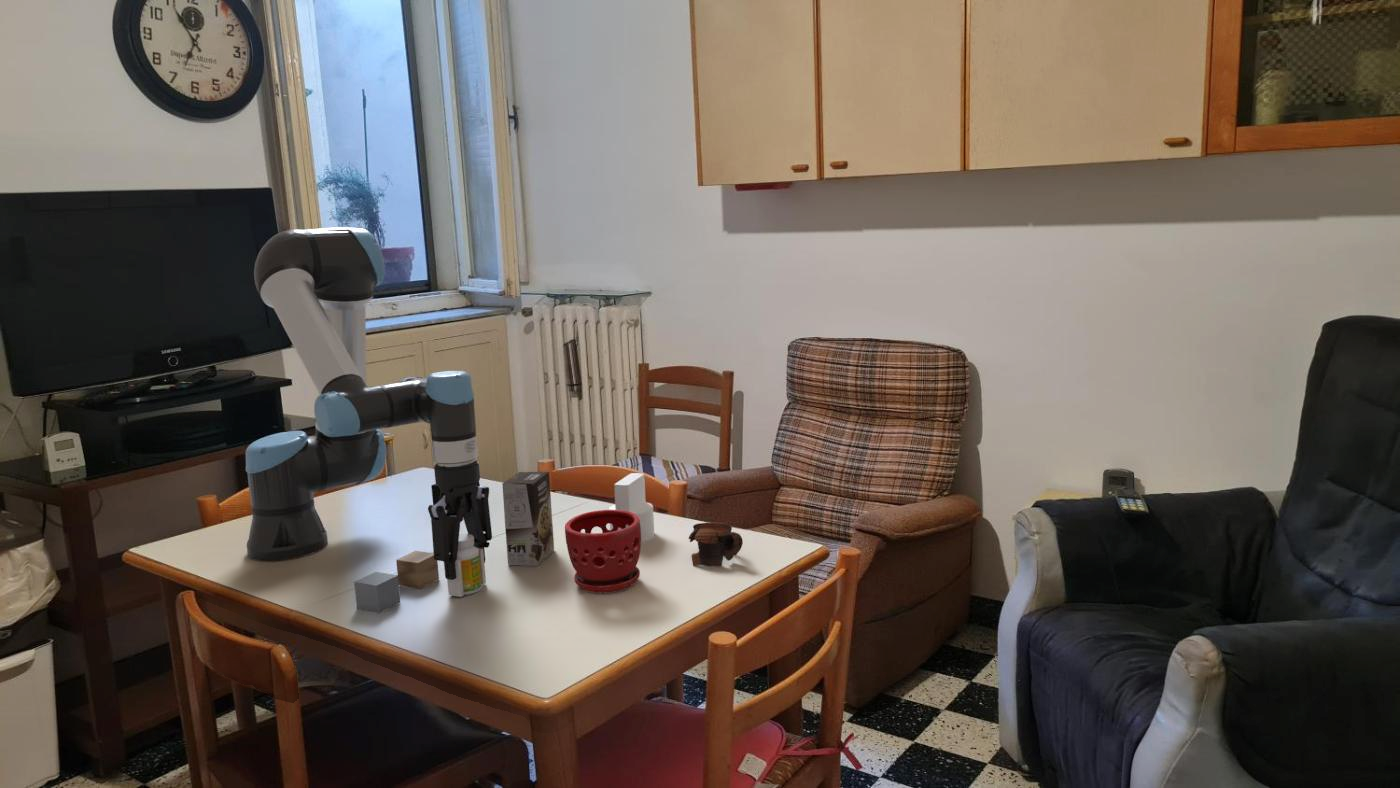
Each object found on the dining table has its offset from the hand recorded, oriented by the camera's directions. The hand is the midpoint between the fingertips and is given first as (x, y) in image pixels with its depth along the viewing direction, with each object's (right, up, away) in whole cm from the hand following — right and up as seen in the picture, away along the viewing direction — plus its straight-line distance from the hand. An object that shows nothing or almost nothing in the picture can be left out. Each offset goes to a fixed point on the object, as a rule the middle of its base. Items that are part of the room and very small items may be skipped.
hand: (467, 588), depth 170 cm
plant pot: (+24, 0, 0) cm, 25 cm away
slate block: (-14, -2, -5) cm, 15 cm away
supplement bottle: (0, 0, 0) cm, 1 cm away
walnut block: (-10, 0, +5) cm, 11 cm away
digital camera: (-14, +8, +50) cm, 52 cm away
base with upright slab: (+27, +5, +26) cm, 38 cm away
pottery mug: (+44, +3, +11) cm, 46 cm away
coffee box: (+9, +3, +16) cm, 18 cm away
